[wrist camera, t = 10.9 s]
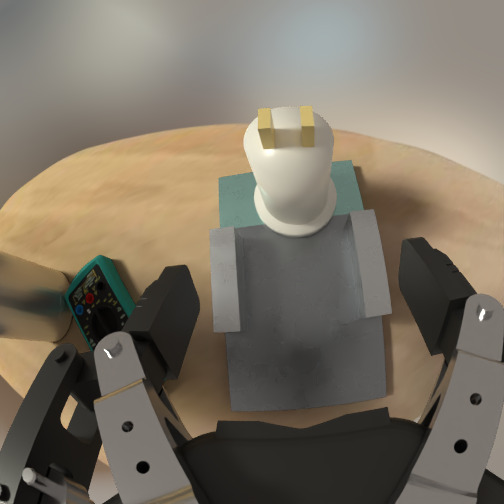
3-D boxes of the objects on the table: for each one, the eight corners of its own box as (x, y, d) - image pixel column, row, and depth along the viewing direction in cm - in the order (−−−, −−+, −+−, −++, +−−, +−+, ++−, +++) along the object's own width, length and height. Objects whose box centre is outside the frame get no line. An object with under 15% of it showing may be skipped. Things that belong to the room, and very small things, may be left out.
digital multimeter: (110, 254, 29) (94, 247, 26) (184, 366, 24) (169, 370, 21) (74, 295, 29) (57, 291, 26) (137, 404, 24) (120, 409, 21)
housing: (234, 408, 22) (221, 421, 18) (221, 182, 28) (209, 161, 24) (383, 394, 20) (396, 405, 16) (350, 165, 26) (355, 141, 22)
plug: (254, 238, 25) (216, 174, 14) (257, 167, 26) (228, 83, 16) (338, 237, 23) (359, 168, 13) (332, 164, 25) (339, 76, 15)
